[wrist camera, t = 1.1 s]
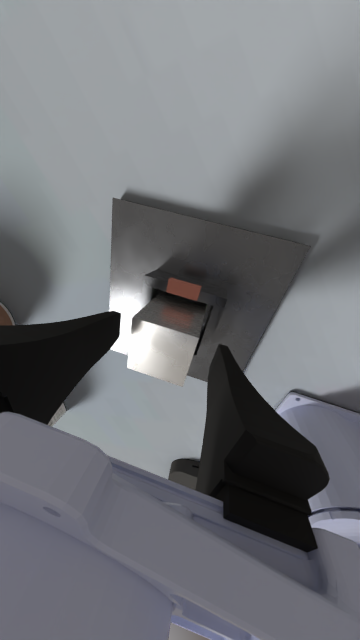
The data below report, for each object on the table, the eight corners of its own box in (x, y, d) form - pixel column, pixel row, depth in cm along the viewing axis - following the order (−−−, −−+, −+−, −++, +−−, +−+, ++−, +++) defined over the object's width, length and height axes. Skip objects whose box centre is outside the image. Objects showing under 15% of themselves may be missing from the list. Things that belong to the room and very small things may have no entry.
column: (209, 298, 15) (201, 337, 9) (197, 335, 17) (183, 388, 11) (165, 285, 16) (130, 315, 10) (158, 323, 18) (125, 368, 12)
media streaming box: (242, 510, 34) (244, 532, 32) (173, 489, 37) (169, 508, 35) (255, 473, 28) (259, 497, 25) (170, 452, 31) (166, 472, 28)
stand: (304, 245, 13) (341, 248, 9) (231, 384, 21) (234, 419, 17) (119, 200, 15) (80, 185, 11) (112, 344, 22) (88, 367, 18)
